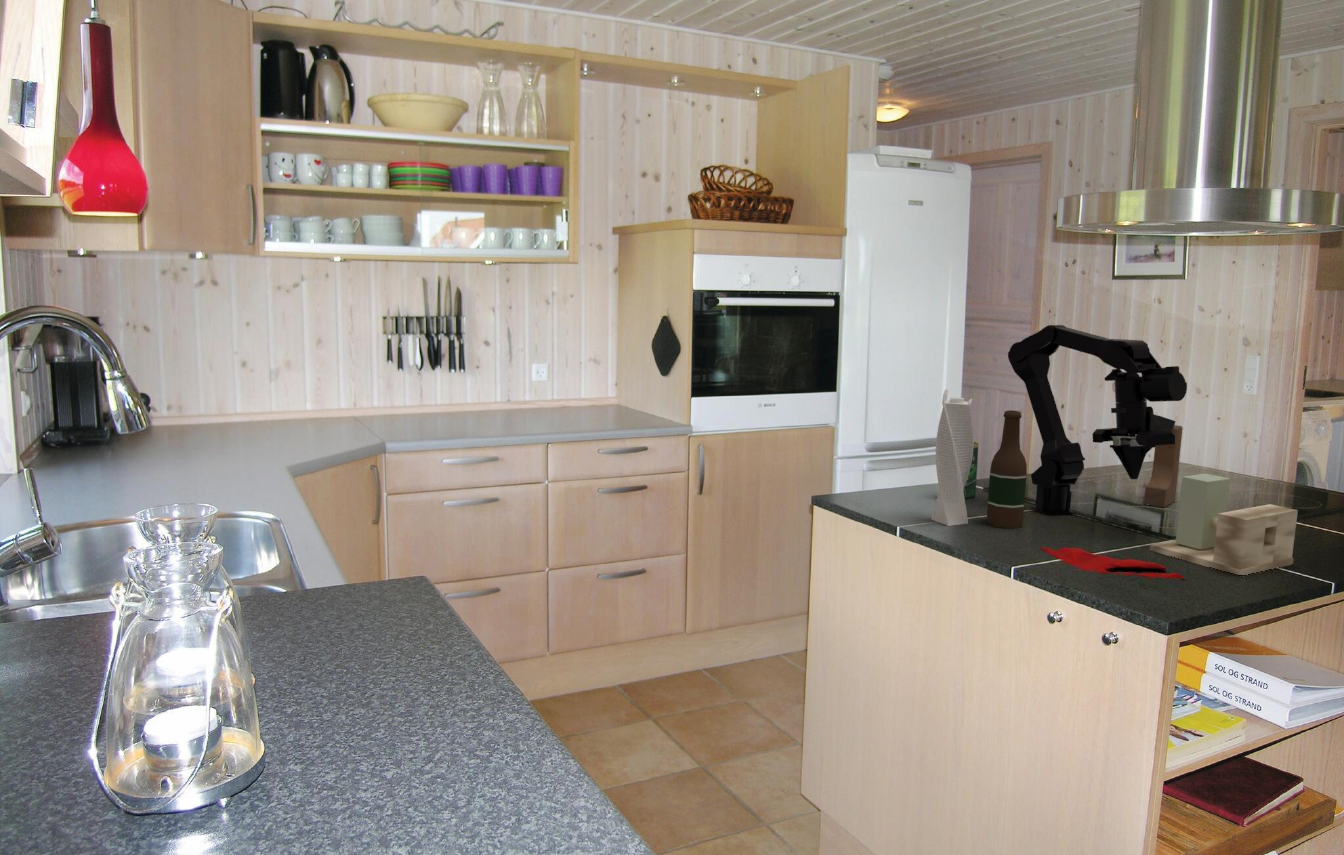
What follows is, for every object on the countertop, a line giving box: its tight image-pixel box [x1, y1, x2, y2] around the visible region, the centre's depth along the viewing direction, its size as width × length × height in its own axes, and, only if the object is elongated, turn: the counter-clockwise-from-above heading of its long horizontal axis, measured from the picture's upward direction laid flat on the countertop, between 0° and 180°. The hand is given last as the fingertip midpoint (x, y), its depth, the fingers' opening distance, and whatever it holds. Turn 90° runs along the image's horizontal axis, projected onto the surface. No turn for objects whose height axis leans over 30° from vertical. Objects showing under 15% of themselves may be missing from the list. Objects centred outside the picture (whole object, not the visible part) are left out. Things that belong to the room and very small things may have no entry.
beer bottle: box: [986, 410, 1028, 529], centre depth 199 cm, size 8×8×24 cm
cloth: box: [1040, 547, 1186, 580], centre depth 174 cm, size 26×14×2 cm, turn 34°
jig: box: [1149, 503, 1299, 576], centre depth 178 cm, size 18×16×10 cm
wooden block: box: [1143, 424, 1184, 509], centre depth 220 cm, size 9×4×18 cm, turn 138°
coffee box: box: [963, 441, 979, 500], centre depth 222 cm, size 8×3×13 cm, turn 122°
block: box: [1175, 473, 1231, 550], centre depth 180 cm, size 9×7×13 cm
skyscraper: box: [931, 388, 975, 527], centre depth 200 cm, size 8×8×28 cm
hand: (1134, 479), depth 194 cm, fingers closed
